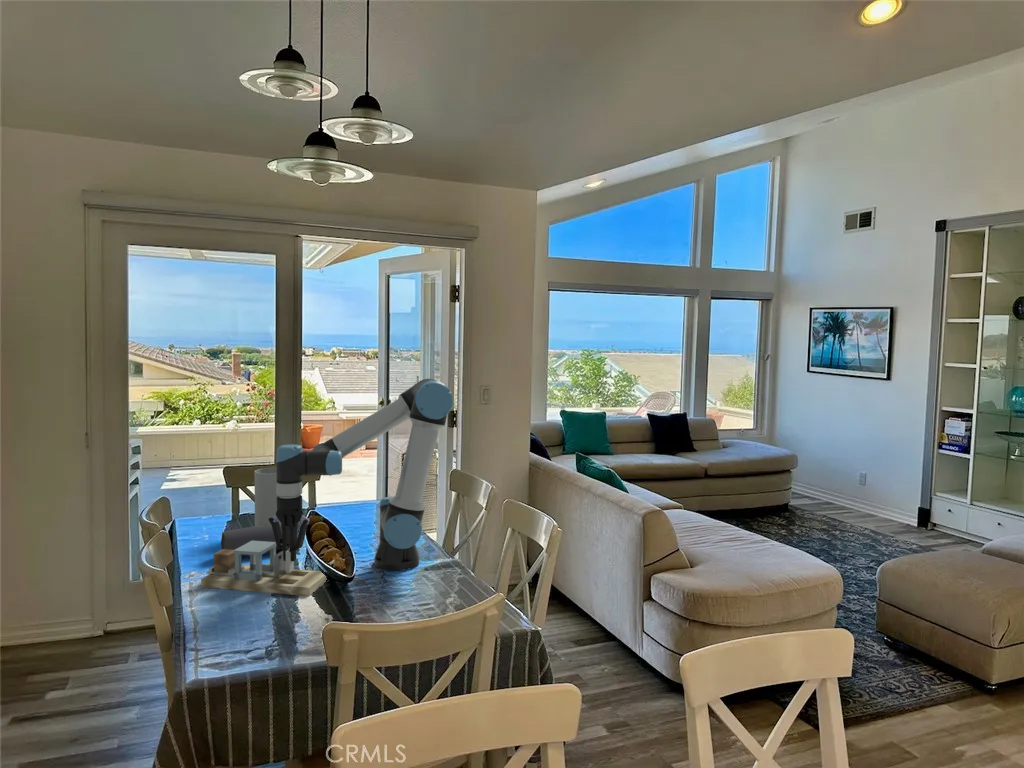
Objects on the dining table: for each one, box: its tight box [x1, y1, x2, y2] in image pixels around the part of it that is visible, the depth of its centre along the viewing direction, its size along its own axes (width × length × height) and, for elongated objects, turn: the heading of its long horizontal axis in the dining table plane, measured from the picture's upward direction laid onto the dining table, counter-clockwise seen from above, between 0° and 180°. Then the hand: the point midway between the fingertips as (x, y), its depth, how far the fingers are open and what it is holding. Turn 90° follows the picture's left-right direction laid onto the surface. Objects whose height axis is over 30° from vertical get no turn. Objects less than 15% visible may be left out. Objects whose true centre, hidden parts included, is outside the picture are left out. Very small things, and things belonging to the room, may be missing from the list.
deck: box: [200, 564, 327, 597], centre depth 209 cm, size 35×14×3 cm, turn 81°
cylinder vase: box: [254, 467, 281, 526], centre depth 260 cm, size 12×12×25 cm
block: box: [213, 548, 235, 572], centre depth 211 cm, size 5×5×6 cm
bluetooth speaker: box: [220, 524, 282, 558], centre depth 237 cm, size 23×9×10 cm, turn 123°
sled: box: [206, 550, 287, 579], centre depth 210 cm, size 24×6×7 cm, turn 81°
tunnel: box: [234, 541, 277, 581], centre depth 209 cm, size 9×10×9 cm
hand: (289, 570), depth 208 cm, fingers closed
